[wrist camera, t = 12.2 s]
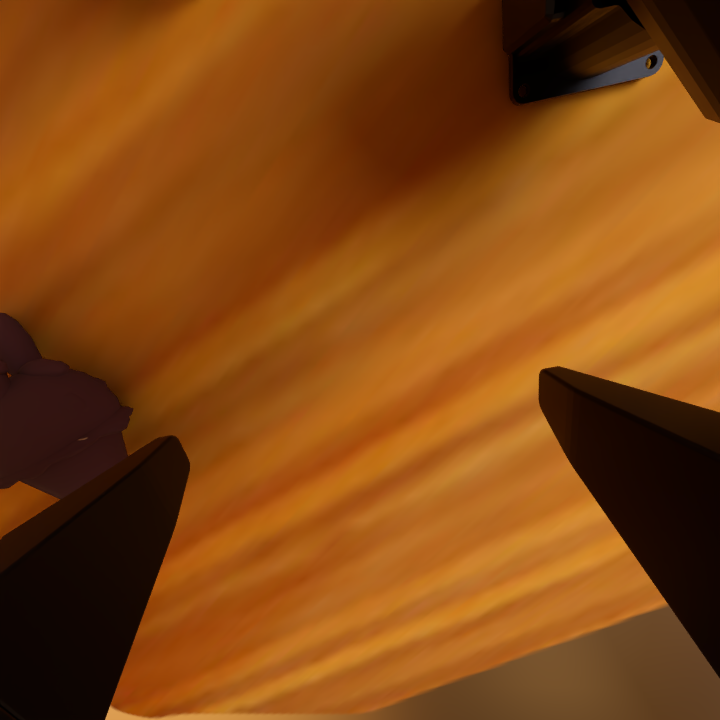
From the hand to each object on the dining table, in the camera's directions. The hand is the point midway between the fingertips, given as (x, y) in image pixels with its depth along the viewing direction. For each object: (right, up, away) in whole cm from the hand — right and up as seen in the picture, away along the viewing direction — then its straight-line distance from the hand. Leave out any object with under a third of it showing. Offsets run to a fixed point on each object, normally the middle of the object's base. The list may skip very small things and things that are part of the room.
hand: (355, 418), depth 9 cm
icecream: (-17, -1, +15) cm, 22 cm away
